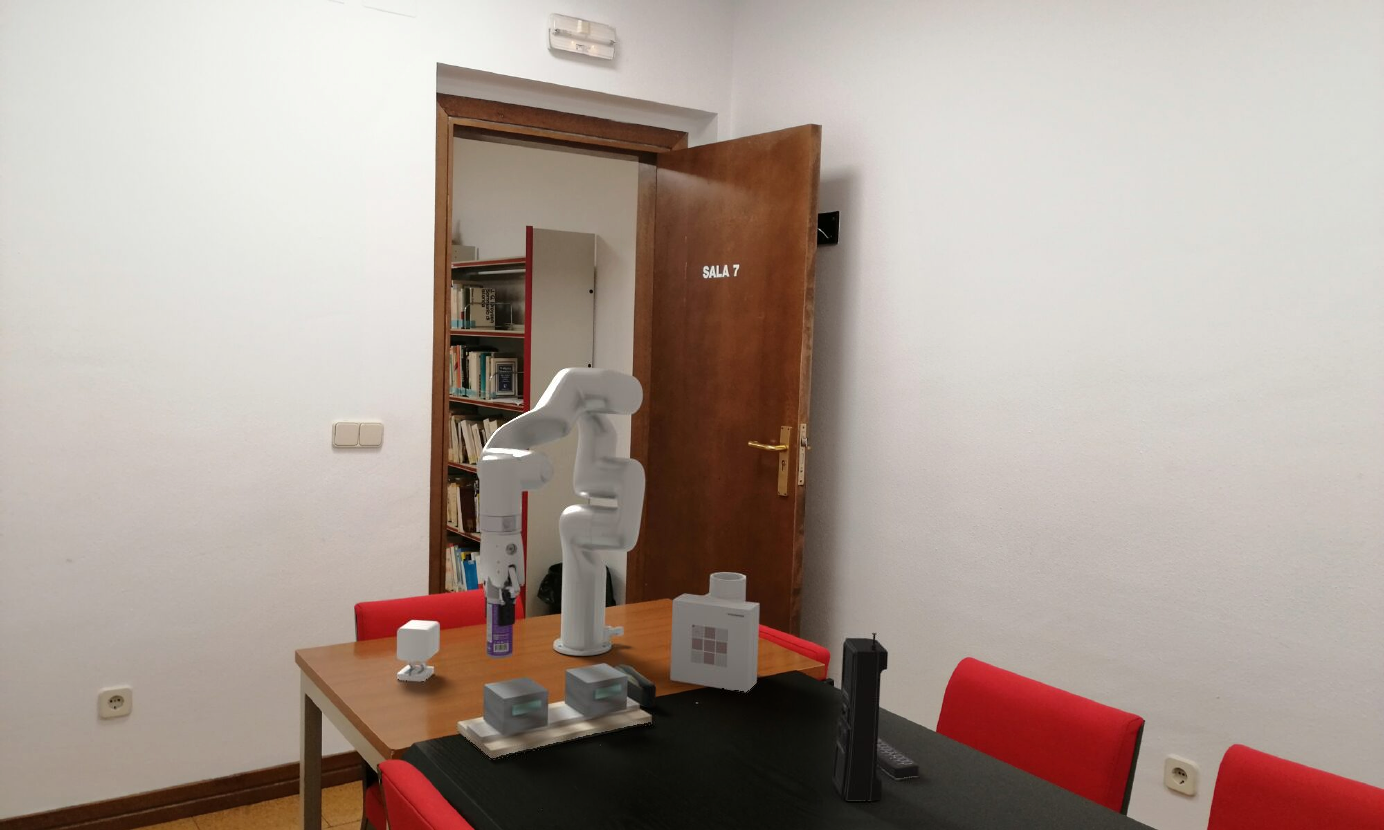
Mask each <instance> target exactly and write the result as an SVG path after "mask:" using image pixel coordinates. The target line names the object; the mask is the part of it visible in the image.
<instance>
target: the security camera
mask: <svg viewBox="0 0 1384 830" xmlns="http://www.w3.org/2000/svg"><path fill="white" fill-rule="evenodd" d="M440 626H441V625H440V623H439V622H438V621H436V620H435V621H434V620H421V619H420V620H419V619H418V620H417V619H411V620H410V621H408V622H407V623H406V624H404V625H402V626H400V627H398V629H397V631H396V658H397V660H399V661H406V662H407V665H406V666H405V667H403V668H402V669H401V670H400V671H398V672H397V673H396V675H397V676H396V677H397V679H399V680H398V681H406V680H407V682H408V681H409V682H421V681H424V682H426V679H427V680H428V679H429V678H430V677H431V676H432V675H434V673H435V667H434V666H430V665H429V666H428V665H426V662H428V661H429V659H431V658H432V657H433V656H434V655H435V654H437V653H438V652H439V651H440V635H441V633H440V630H441V627H440ZM415 663H418V664H419V665H415ZM397 679H396V680H397Z"/></svg>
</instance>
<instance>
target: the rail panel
mask: <svg viewBox="0 0 1384 830" xmlns="http://www.w3.org/2000/svg"><path fill="white" fill-rule="evenodd" d="M614 668H615V667H612V666H611V665H609V664H607V663H605V662H603V663H597V664H594V665H593V664H592V665H587V666H582V667H576V668H571V669H566V670H565V679H564V681H565V682H564V700H561V701H556V702H553V703H549V689H547V688H546V687H544V686H543V685H540V684H539V683H538V682H536V681H535V680H533V679H532V678H530V677H528V676H524V677H518V678H512V679H507V680H502V681H496V682H491V683H484V684H483V709H482V710H483V711H482V714H483V715H482V716H481V717H476V718H475V717H474V718H471V719H465V720H461V721H457V732H458V733H459V734H461V736H463V737H464V738H465V737H466V738H465V739H466V740H467V741H469V740H470V741H469V742H470V743H471V742H472V743H473V744H475V745H476V746H477V747H478V748H479V749H481V751H483V752H484V753H485V754H486V755H488V756H489V757H490V758H496V757H499V756H501V755H506V754H509V753H515V752H518V751H523V750H526V749H533V748H537V747H540V746H545V745H548V744H553V743H556V742H563V741H566V740H571V739H575V738H578V737H583V736H586V735H592V734H594V733H601V732H605V731H611V730H614V729H618V728H624V727H627V726H633V725H637V724H644V723H648V722H651V723H652V717H653V716H652V714H650V713H648V712H646V711H645V710H642V709H641V707H640V704H638V703H637V702H635V701H633V700H632V699H630V698H628V697H627V682H628V676H627V675H626V674H624V673H622V672H620V671H618V670H616V669H614ZM472 743H471V744H472ZM473 744H472V745H473ZM475 745H474V746H475ZM476 746H475V747H476ZM477 747H476V748H477ZM478 748H477V749H478ZM479 749H478V750H479ZM481 751H480V752H481ZM483 752H482V753H483ZM484 753H483V754H484ZM485 754H484V755H485ZM486 755H485V756H486ZM490 758H489V759H490Z"/></svg>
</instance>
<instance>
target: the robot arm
mask: <svg viewBox="0 0 1384 830" xmlns="http://www.w3.org/2000/svg"><path fill="white" fill-rule="evenodd" d="M643 392H644V391H643V388H642V385H641V383H640V381H639V380H638V378H636V377H635V376H633V375H630V374H627V373H624V372H621V371H618V370H614V369H610V368H602V367H601V368H599V367H577V366H576V367H572V366H571V367H567V368H564V369H561V370H560V371H559V372H558V373H556V374H555V376H554V378H553V379H552V381H551V382H550V383H549V385H548V387H547V389H545V391H544V393H543V394H542V396H541V398H539V401H538V402H537V403H536V405H535V407H534V408H533V409H531V410H529V411H527V412H524V413H523V414H521V415H519V416H517V417H516V418H513V419H512V420H510V421H508V422H507V423H504V424H503V425H502V426H501V427H499V428H498V429H497V430H495V432H494V433H492V435H491V437H489V439H488V441H487V442H486V443H485V445H484V447H483V449H482V450H481V452H480V454H479V457H478V460H477V463H476V474H477V477H478V479H479V517H478V521H479V525H478V526H479V527H478V528H479V529H478V530H479V533H481V535H480V545H479V546H480V548H479V549H480V550H479V575H480V577H481V579H482V580H483V585H484V598H485V599H484V600H485V601H484V606H485V607H484V615H485V616H484V617H485V619H487V584H488V576H489V577H490V580H491V582H492V585H494V586H496V587H497V588H498V591H499V601H500V604H498V619H497V624H498V626H500V627H501V626H507V625H513V626H514V625H515V623H516V603H517V597H518V596H519V594H520V593H521V588H520V587H522V586H524V584H525V555H524V545H523V538H522V533H521V532H522V520H523V519H522V515H523V514H522V510H523V509H522V505H523V504H522V502H523V498H522V497H523V492H529V491H530V492H532V491H534V492H535V491H539V490H542V489H544V488H545V487H547V486H548V485H549V483H550V482H551V480H552V479H553V475H554V469H555V468H554V463H553V461H552V459H551V457H550V456H549V455H548V454H546V453H545V452H542V451H539V450H533V449H532V450H531V448H535V447H539V446H543V445H546V444H547V445H548V444H551V443H554V442H557V441H559V440H563V439H564V438H566V437H567V436H568V435H569V434H570V433H571V431H572V429H573V428H574V426H575V424H576V425H577V428H578V441H577V447H576V449H577V450H576V456H575V461H574V462H575V463H574V469H573V476H572V477H573V478H572V484H573V485H572V486H573V487H572V488H573V490H574V492H575V494H576V495H578V496H579V497H582V498H586V499H590V500H591V499H593V500H601V501H602V500H604V501H613V502H614V501H616V503H617V506H608V505H601V504H600V505H599V504H589V503H588V504H587V503H586V504H585V503H579V504H577V503H576V504H572V505H569V506H567V507H566V508H565V509H564V510H563V511H562V512H561V514H560V517H559V522H558V530H559V531H558V532H559V538H560V543H561V551H562V552H561V553H562V554H561V555H562V577H561V578H562V579H561V580H562V581H561V582H562V583H561V584H562V585H561V616H560V617H561V620H560V637H559V638H557V639H555V640H553V645H552V646H553V649H554V650H555V651H556V652H558V653H560V654H564V655H568V656H576V657H577V656H579V657H585V656H588V657H589V656H595V655H596V656H597V655H601V654H606V652H609V651H610V650H611V649H612V642H611V640H610V639H611V638H612V637H619V636H623V635H624V633H625V628H624V627H623V626H622V625H621V626H615V627H613V626H612V625H608V626H607V625H606V623H605V622H606V594H607V593H606V592H607V591H606V589H607V587H606V586H607V567H606V563H605V560H604V557H602V554H601V553H600V551H606V552H614V553H616V552H617V553H628V552H630V551H631V550H633V549H634V548H635V546H636V544H637V542H638V538H639V534H640V528H641V521H642V514H643V506H644V499H645V492H646V491H645V490H646V473H645V470H644V466H643V465H642V463H641V462H639V461H638V460H637V459H634V458H630V457H618V456H617V455H616V453H617V444H618V433H617V430H616V428H615V426H614V425H613V423H612V421H611V419H610V418H609V417H608V416H607V415H623V416H630V415H633V414H635V413H637V411H638V410H640V407H641V405H642V403H643V398H644V397H643V396H644V393H643ZM505 583H509V585H510V586H506V587H504V586H505V585H504V584H505ZM504 590H509V592H506V594H505V596H504Z"/></svg>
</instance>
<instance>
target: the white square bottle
mask: <svg viewBox="0 0 1384 830" xmlns="http://www.w3.org/2000/svg"><path fill="white" fill-rule="evenodd" d="M746 589H747V575H745V574H742V573H739V572H738V573H737V572H725V571H722V572H714V573H711V574H710V575H709V592H708V593H706V594H705V595H702V594H701V595H699V594H691V593H683V594H681V595H679V596H677V597H675V598H674V599H672V612H671V614H672V615H671V646H670V647H671V648H670V673H669V674H670V681H674V682H680V683H686V684H693V685H699V686H704V687H710V688H716V689H722V688H724V690H728V691H734V690H739V691H738V692H740V691H744V692H743V693H746V692H747V691H748V690H749V691H751V690H752V689H753V688H754V687H755V686H756V685H757V684H756V683H757V680H758V656H759V655H758V654H759V633H760V632H759V630H760V629H759V628H760V627H759V626H760V602H752V601H746V598H747V597H746V592H747V591H746ZM755 684H756V685H755ZM754 685H755V686H754ZM753 686H754V687H753ZM752 687H753V688H752ZM751 688H752V689H751ZM750 689H751V690H750ZM749 691H748V692H749ZM748 692H747V693H748Z"/></svg>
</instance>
